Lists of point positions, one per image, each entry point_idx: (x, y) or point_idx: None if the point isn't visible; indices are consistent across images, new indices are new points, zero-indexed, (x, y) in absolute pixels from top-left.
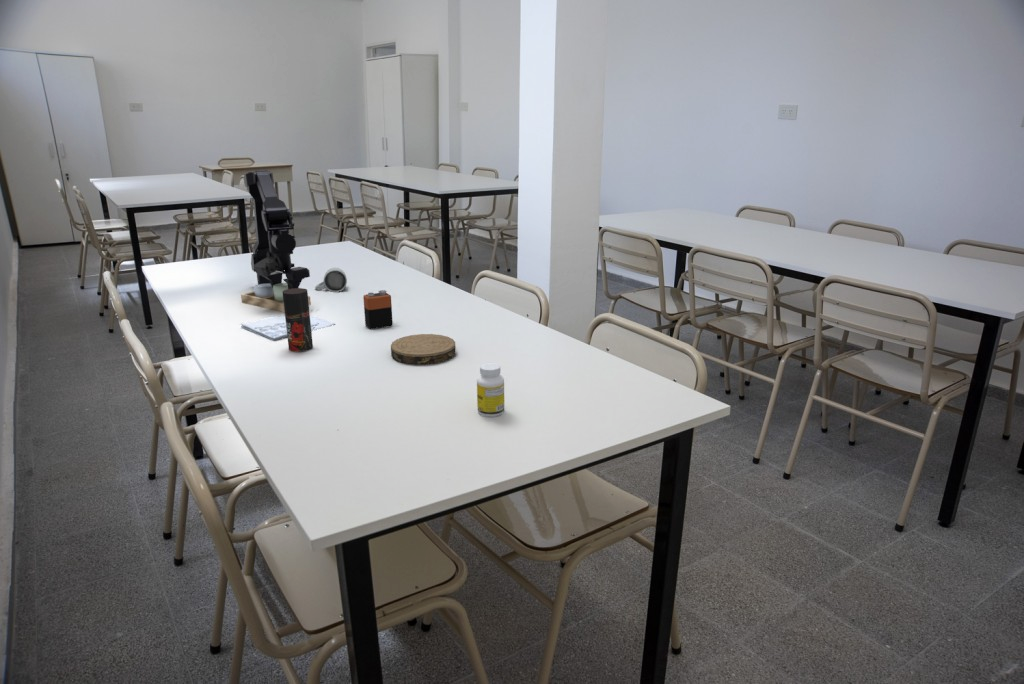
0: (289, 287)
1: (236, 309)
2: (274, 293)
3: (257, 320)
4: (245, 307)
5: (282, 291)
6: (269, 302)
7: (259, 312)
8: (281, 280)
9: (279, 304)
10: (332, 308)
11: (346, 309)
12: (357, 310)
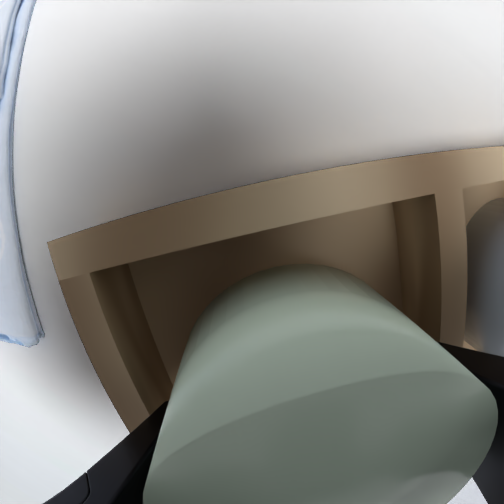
0: (72, 498)
1: (465, 39)
2: (346, 306)
3: (3, 3)
4: (482, 101)
5: (177, 409)
6: (290, 176)
7: (286, 79)
8: (488, 501)
9: (95, 226)
10: (76, 470)
11: (42, 476)
12: (20, 477)
